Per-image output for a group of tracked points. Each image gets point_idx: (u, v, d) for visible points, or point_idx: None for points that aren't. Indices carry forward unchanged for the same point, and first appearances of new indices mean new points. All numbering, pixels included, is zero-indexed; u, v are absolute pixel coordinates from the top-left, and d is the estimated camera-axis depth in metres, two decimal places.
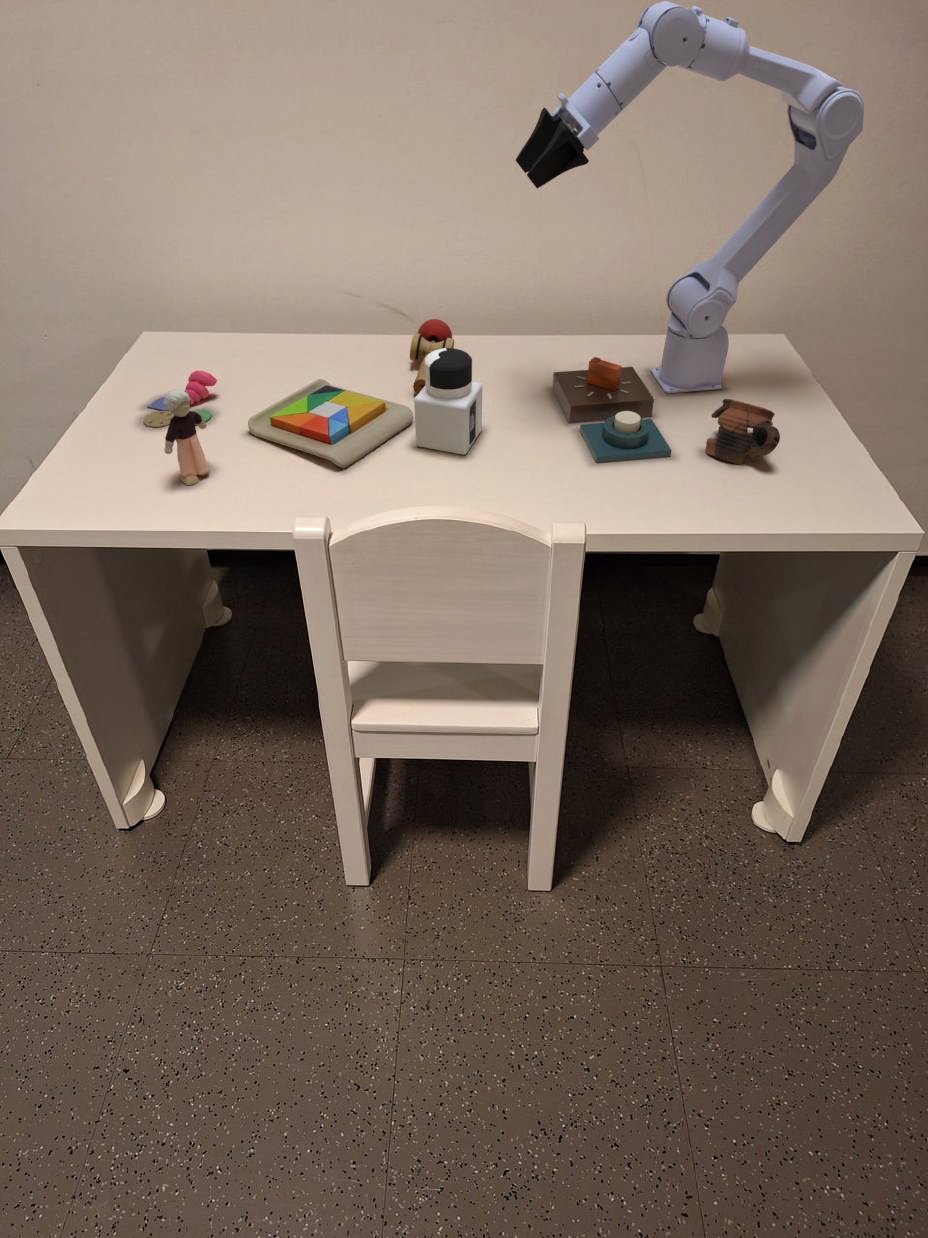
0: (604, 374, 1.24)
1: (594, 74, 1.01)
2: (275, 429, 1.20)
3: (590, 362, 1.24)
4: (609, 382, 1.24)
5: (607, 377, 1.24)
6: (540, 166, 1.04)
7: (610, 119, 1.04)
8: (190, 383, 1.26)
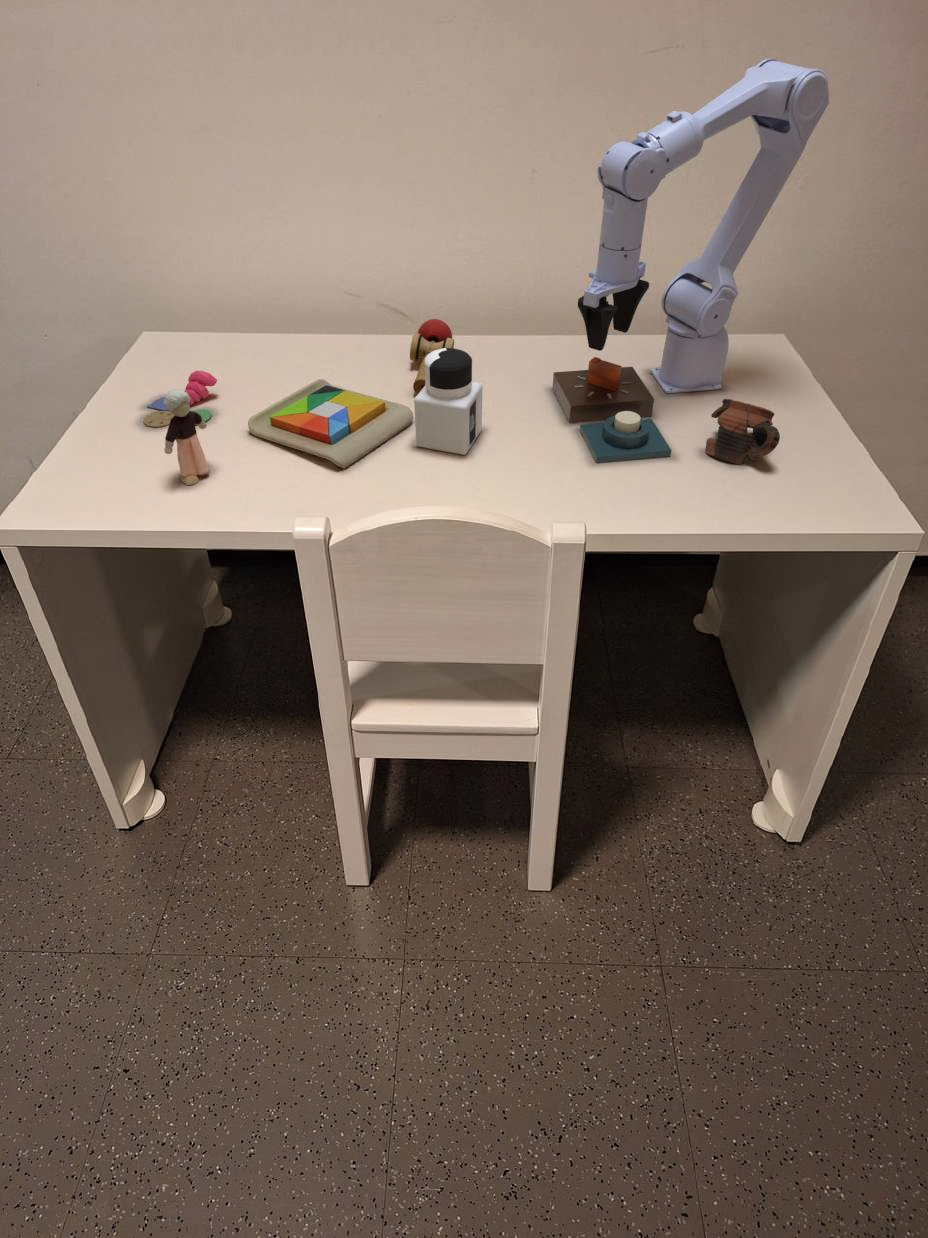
0: (604, 374, 1.24)
1: None
2: (275, 429, 1.20)
3: (590, 362, 1.24)
4: (609, 382, 1.24)
5: (607, 377, 1.24)
6: (590, 335, 1.17)
7: (625, 263, 1.11)
8: (190, 383, 1.26)
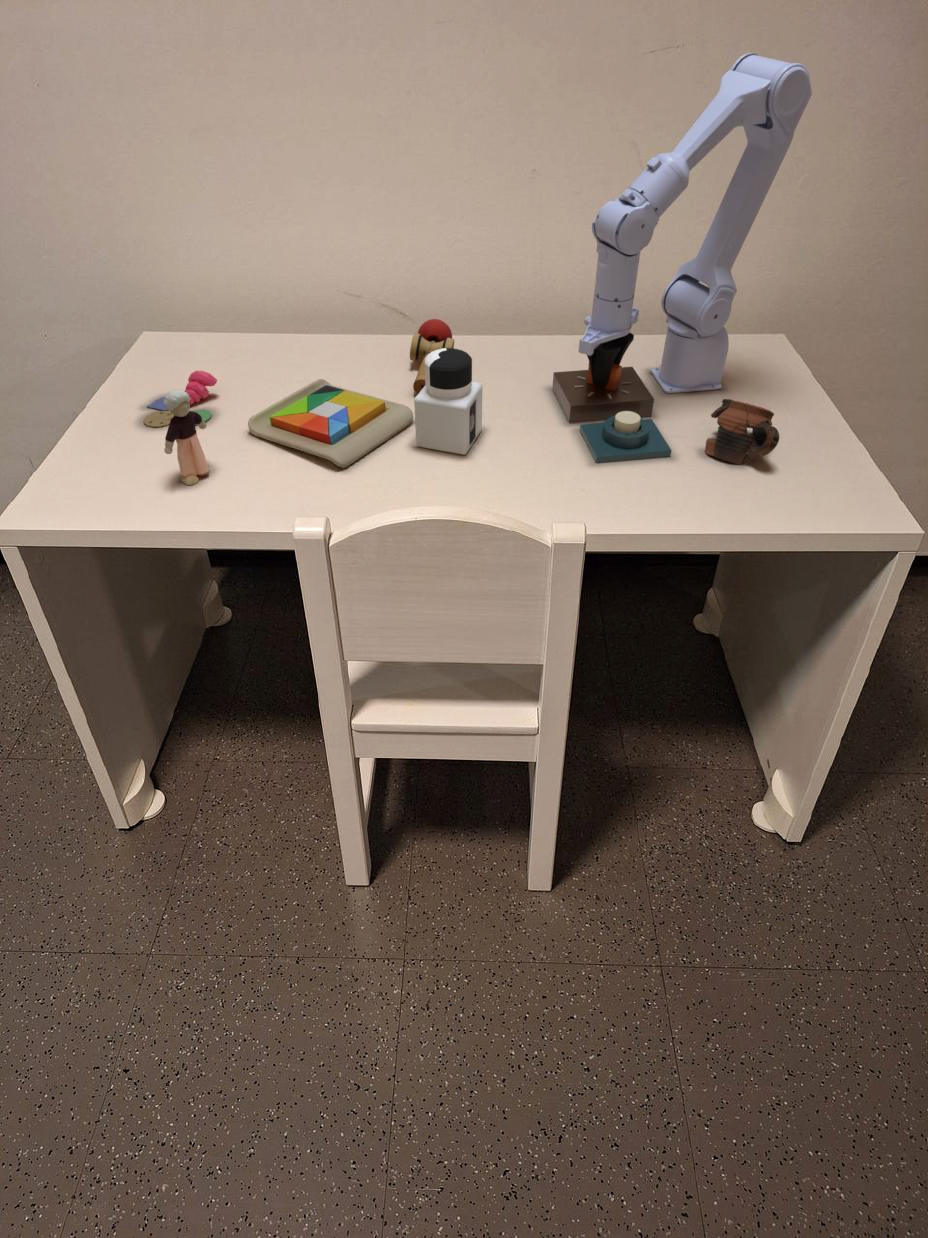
0: None
1: None
2: (275, 429, 1.20)
3: None
4: (609, 382, 1.24)
5: None
6: (594, 373, 1.23)
7: (619, 313, 1.15)
8: (190, 383, 1.26)
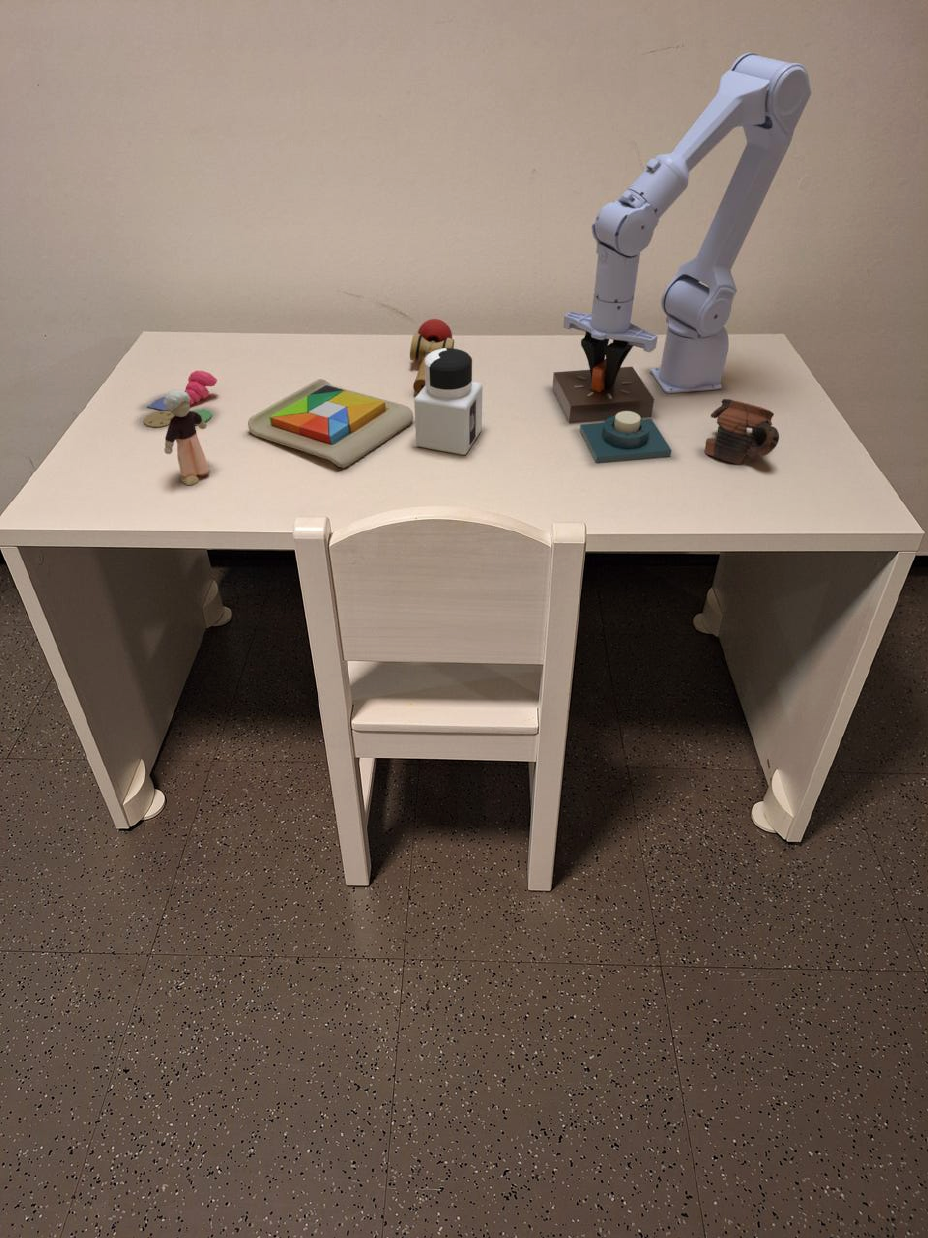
0: None
1: (606, 303, 1.15)
2: (275, 429, 1.20)
3: (603, 370, 1.22)
4: None
5: None
6: (611, 376, 1.23)
7: None
8: (190, 383, 1.26)
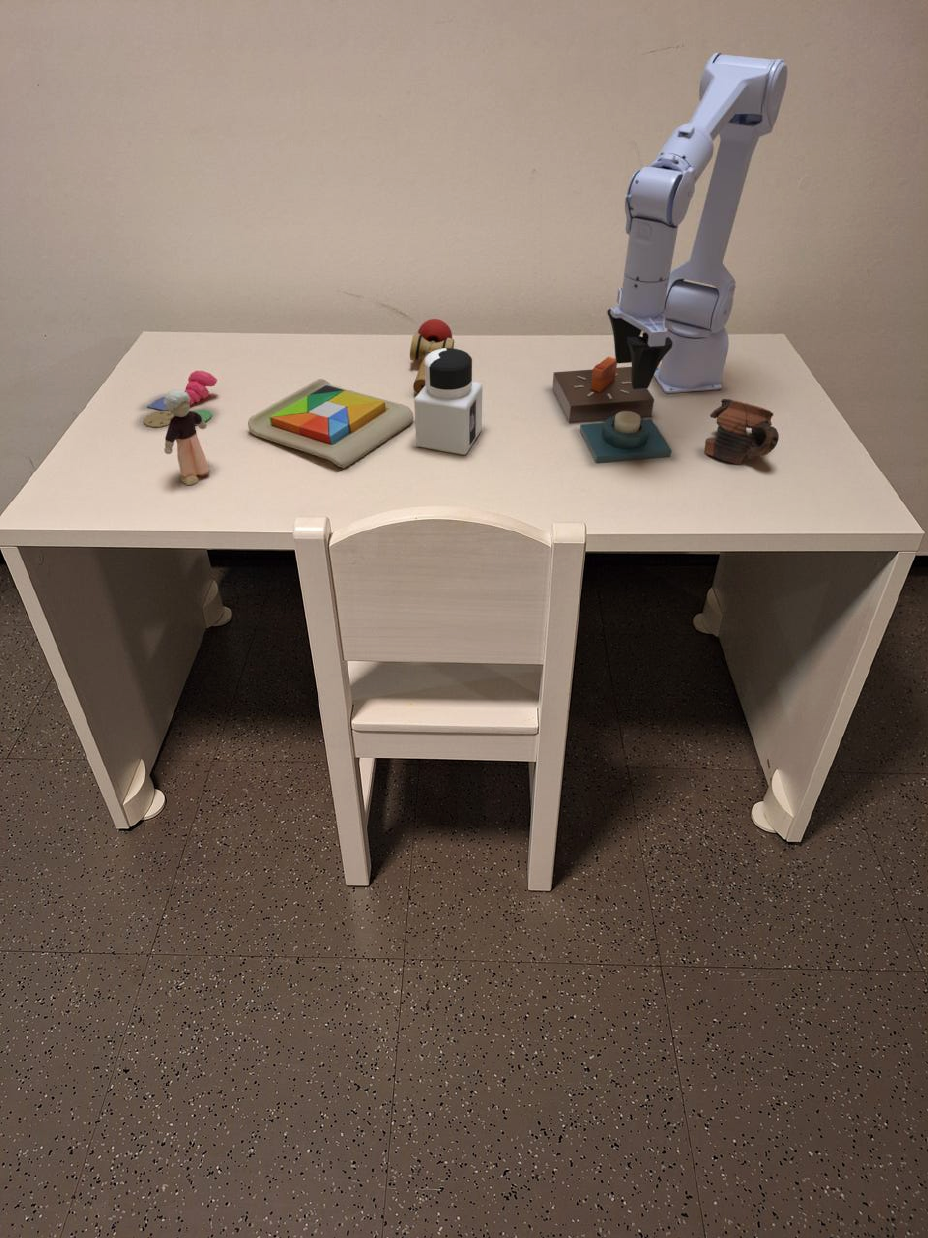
0: (610, 371, 1.24)
1: (625, 277, 1.03)
2: (275, 429, 1.20)
3: (603, 370, 1.22)
4: (612, 375, 1.25)
5: (612, 372, 1.25)
6: (637, 376, 1.08)
7: (665, 292, 1.03)
8: (190, 383, 1.26)
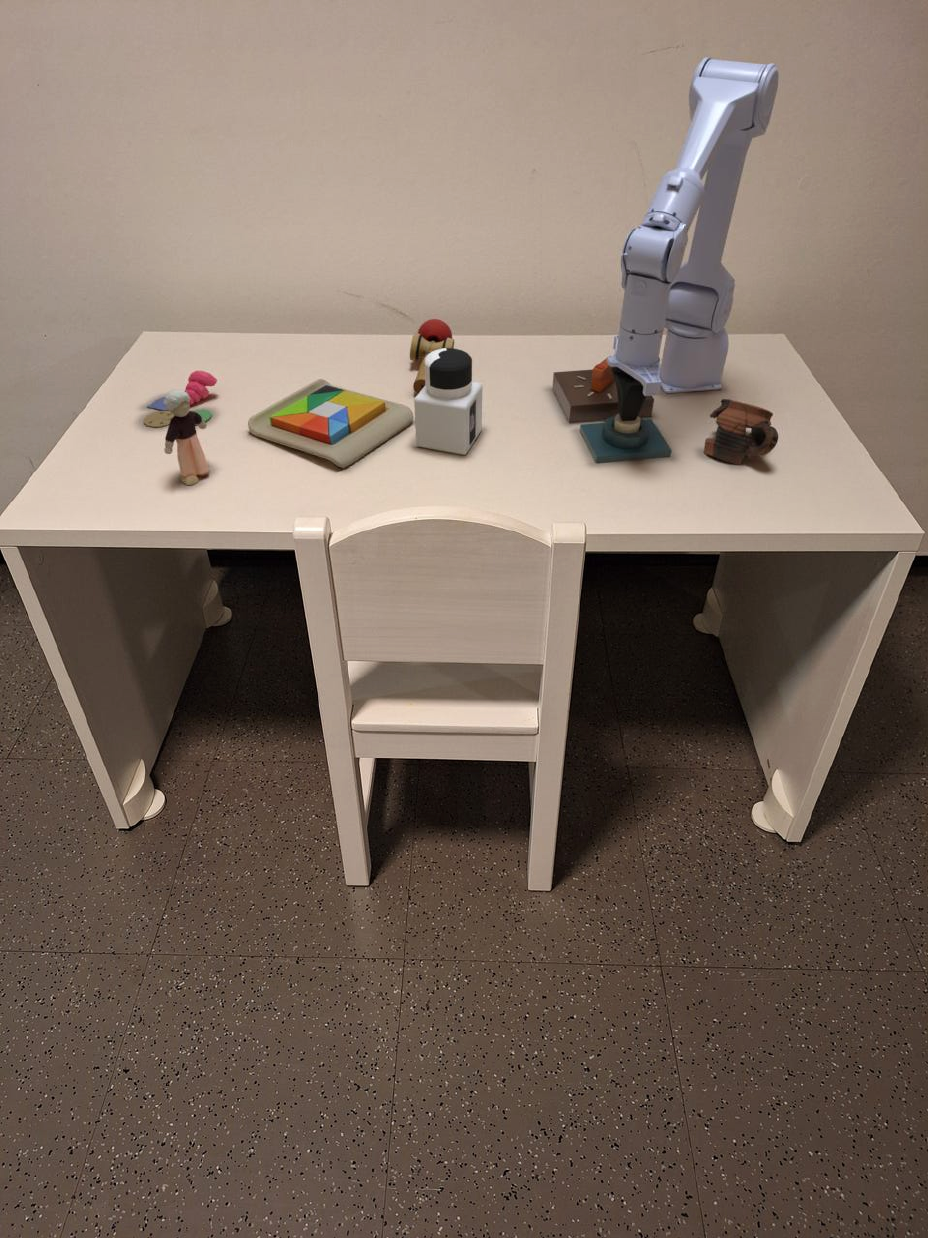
0: (610, 371, 1.24)
1: (621, 329, 1.06)
2: (275, 429, 1.20)
3: (603, 370, 1.22)
4: (612, 375, 1.25)
5: None
6: (626, 409, 1.14)
7: (659, 342, 1.07)
8: (190, 383, 1.26)
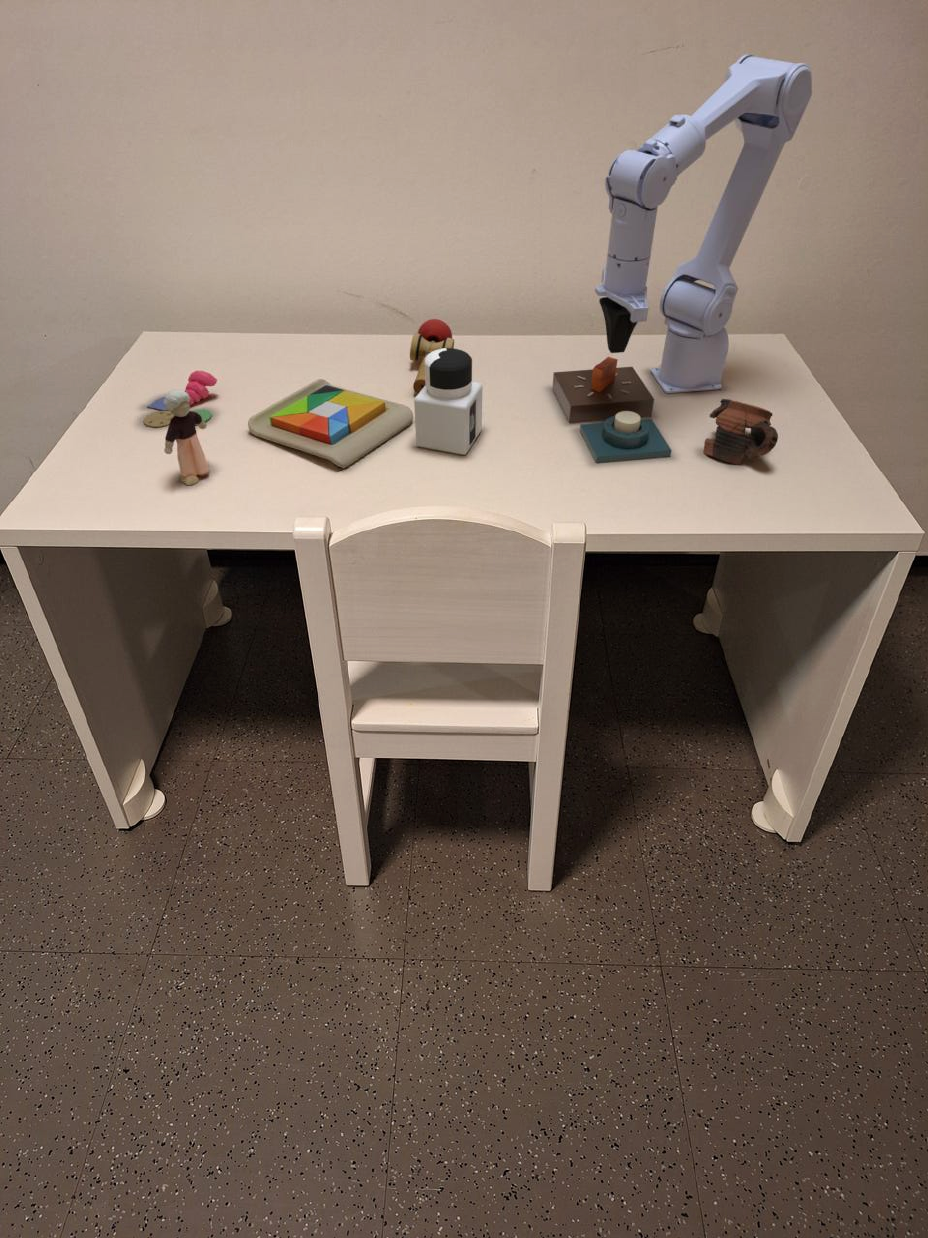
0: (610, 371, 1.24)
1: (609, 257, 1.08)
2: (275, 429, 1.20)
3: (603, 370, 1.22)
4: (612, 375, 1.25)
5: (612, 372, 1.25)
6: (614, 340, 1.16)
7: (646, 270, 1.09)
8: (190, 383, 1.26)
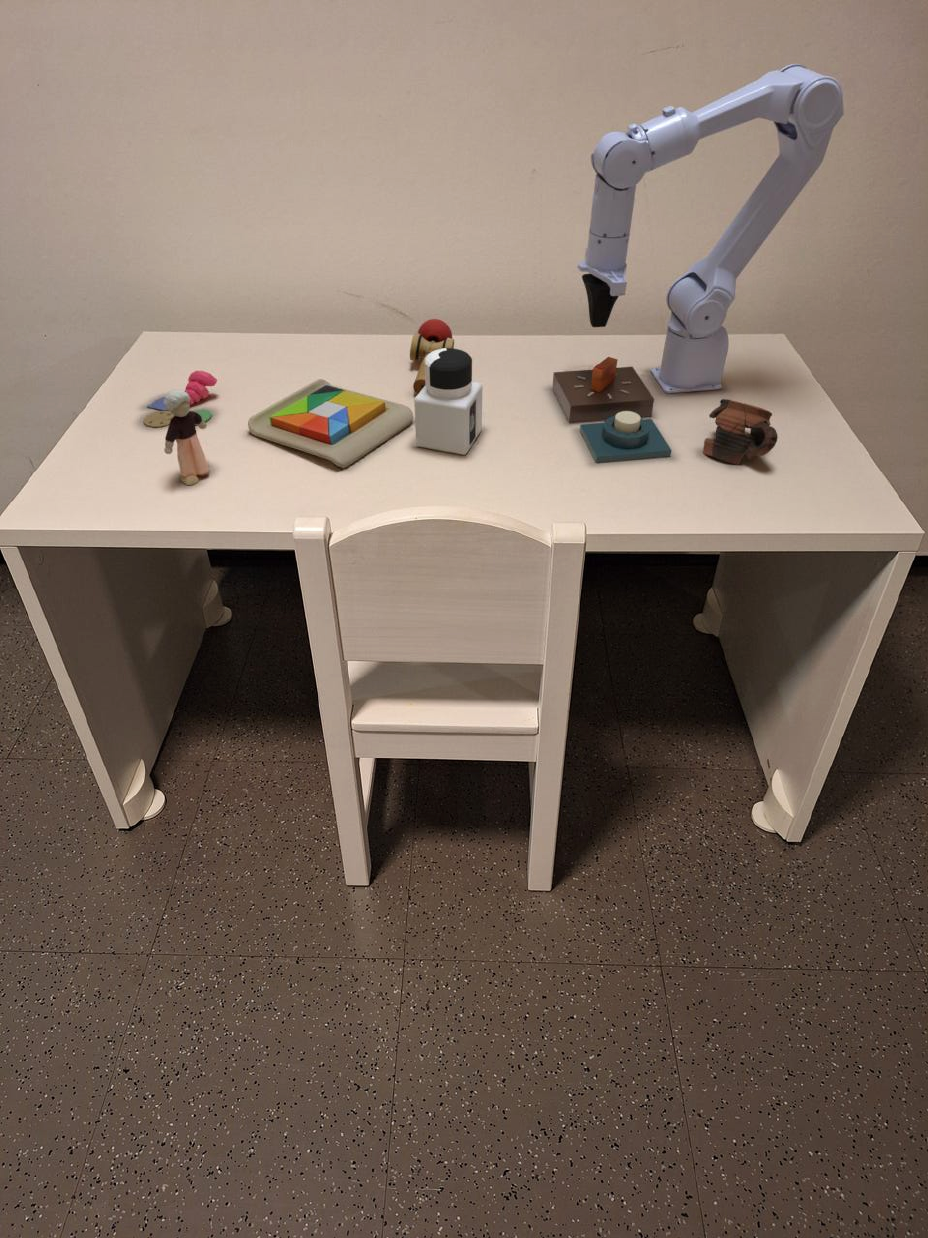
0: (610, 371, 1.24)
1: (590, 234, 1.15)
2: (275, 429, 1.20)
3: (603, 370, 1.22)
4: (612, 375, 1.25)
5: (612, 372, 1.25)
6: (596, 315, 1.22)
7: (626, 247, 1.15)
8: (190, 383, 1.26)
